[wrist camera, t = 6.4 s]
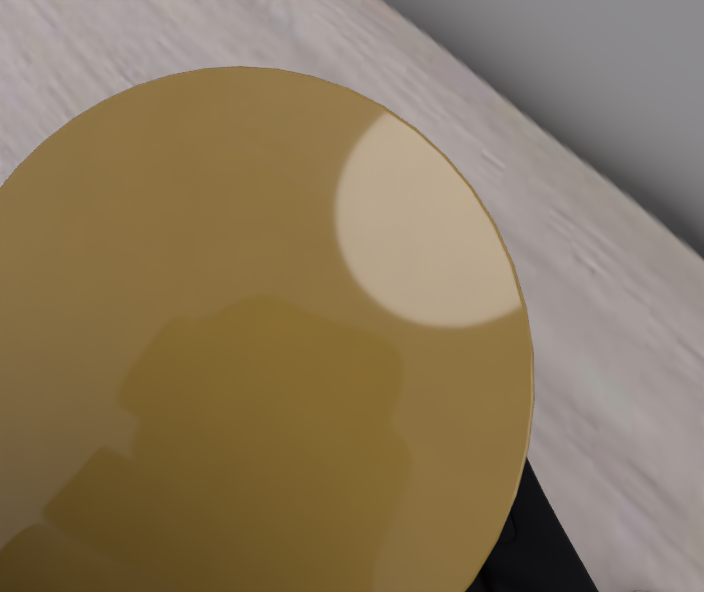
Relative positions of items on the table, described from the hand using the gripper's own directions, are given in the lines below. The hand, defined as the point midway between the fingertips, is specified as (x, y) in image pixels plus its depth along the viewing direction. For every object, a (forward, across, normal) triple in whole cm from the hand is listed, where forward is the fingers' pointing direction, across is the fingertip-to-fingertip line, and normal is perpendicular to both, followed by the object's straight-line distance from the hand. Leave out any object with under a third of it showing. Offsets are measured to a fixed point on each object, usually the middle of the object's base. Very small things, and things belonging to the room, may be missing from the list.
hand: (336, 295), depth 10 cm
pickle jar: (+4, 0, +6) cm, 7 cm away
